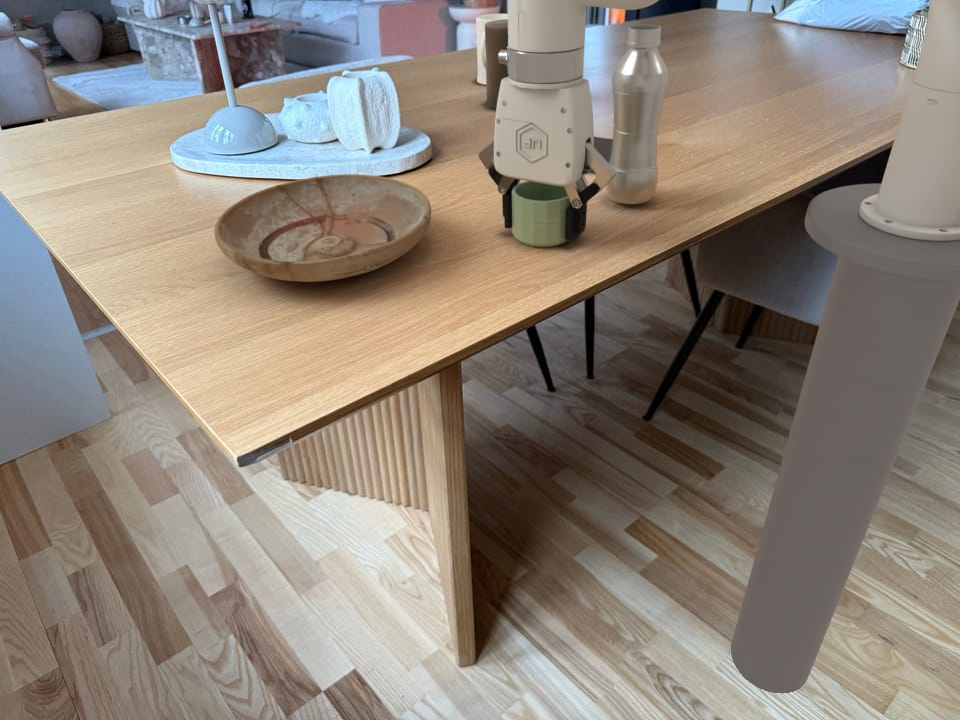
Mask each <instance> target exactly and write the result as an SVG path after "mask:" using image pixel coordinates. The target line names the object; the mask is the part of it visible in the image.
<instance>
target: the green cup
mask: <svg viewBox="0 0 960 720" xmlns="http://www.w3.org/2000/svg"><path fill="white" fill-rule="evenodd" d="M570 205H571V202H570V200H569V198H568V195H567V193H566V191H565V188H564V187H563V186H555V185H548V184H543V183H537V182H531V181H526V180H524V181H522V182H519V184H517V185H516V186H514V187H513V190H512V228H511V233H512V235H513V236H514V238H515V239H516V240H518V241H519V242H520V243H522V244H524V245H526V246H529V247H536V248H550V247H551V248H552V247H556V246H560V245H562V244H564V243H566V242H568V241H567V240H566V239H565V228H566V209H567V207H568V206H570Z"/></svg>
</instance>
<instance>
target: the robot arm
mask: <svg viewBox="0 0 960 720" xmlns="http://www.w3.org/2000/svg"><path fill="white" fill-rule="evenodd" d="M659 1H660V0H507V14H508V46H507V50H500V52H499V54H498V60H499V63H501V64H505V65H507V73H509V77H506V78H503V79H502V80H501V84H500V89H499V95H498V101H497V108H496V109H495V118H494V130H493V131H494V134H493V140H492V141H491V142H490V143H489V144H488V145H487V146H485V147H484V148H483V149H482V150H480V151H479V152H478V159H479V160H480V162H481V163H482V165H483V166H484V167H485V169H486V170H487V171H488V172H487V173H488V175H489V177H490V179H492V181H493V182H494V183H495V185H496V186H497V192H498V193H499V194H500V195H501V196H502V217H503V218H504V219H503V221H504V228H505V229H508V230H509V229H512V190H513V187H514V186H516V185H517V184H519V183H521V182H520V181H521V180H522V181H531V182H537V183H543V184H548V185H555V186H563V187H564V188H565V191H566V193H567V195H568V198H569V200H570V202H571V205H570V206H568V207H567V209H566V228H565V239H566V240H567V241H566V242H570V243H572V242H573V241H574V240H576V239H577V238H578V237H579V236H580V235H582V234H583V233H584V232H585V230H586V227H587V211H588V202H589V201H590V200H591V199H593V198H594V197H595V196H596V195H597V194H599V193H600V192H601V191H602V190H603V189H604V188H606V185H607V184H608V183H609V182H610V181H611V180H612V179H613V178H614V177H615V176H616V171H615V170H614V168H613V167H612V166H611V165H610V164H609V163H608V162H607V161H606V160H605V159H604V158H603V156H602V155H601V154H600V153H599V152H598V151H597V150H596V149H595V148H594V137H595V132H594V130H595V129H594V127H595V126H594V112H593V110H594V109H593V100H592V93H591V88H590V83H589V80H588V79H587V78H584V66H585V65H584V64H585V42H586V21H587V7H594V8H606V9H615V10H624V11H633V10H634V11H635V10H640V9H641V10H642V9H644V8H647V7H650V6H652V5H654V4H656V3H657V2H659ZM925 27H926V28H925V31H924V32H925V33H924V36H923V40H922V45H921V49H920V53H919V57H918V60H917V63H916V67H915V70H914V73H913V77H912V79H911V82H910V86H909V90H908V92H907V96H906V98H905V99H906V100H905V103H904V106H903V109H902V113H901V116H900V120H899V123H898V126H897V130H896V133H895V137H894V140H893V143H892V147H891V150H890V154H889V157H888V160H887V163H886V167H885V170H884V173H883V177H882V181H881V183H880V184H881V187H880V190H879V194H876V195H873V196H870V197H868V198H866V199H864V200H863V201H862V202H861V206H860V209H859V215H860V216H861V218H862V219H863V220H864V221H865V222H866V223H868V224H869V225H871V226H872V227H875V228H877V229H879V230H881V231H884V232H887V233H890V234H893V235H897V236H901V237H905V238H910V239H917V240H925V241H956V240H960V0H929V5H928V15H927V20H926V26H925ZM591 169H592V170H593V171H594V172H593V173H594V174H595V178H594V180H593V181H592V182H591V183H588V181H587V178H586V177H585V175H588V174H589V173H591V172H590V171H591Z"/></svg>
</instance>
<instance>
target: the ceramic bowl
mask: <svg viewBox="0 0 960 720" xmlns="http://www.w3.org/2000/svg"><path fill="white" fill-rule="evenodd" d="M431 220H432V205H431V203H430V200H429V198H428V197H427V196H426V194H425V193H424V192H422V190H420V189H418V188H417V187H415V186H413V185H412V184H409V183H405V182H404V181H401V180H399V179H394V178H390V177H385V176H379V175H372V174H361V173H359V174H358V173H346V174H343V173H342V174H341V173H340V174H328V175H321V176H314V177H308V178H301V179H297V180H292V181H288V182H284V183H280V184H277V185H273V186H270V187H266V188H264V189H261V190H259V191H256V192H254V193H251V194H249V195H247V196H246V197H244V198H242V199H240V200H238V201H237V202H236V203H234V204H232V205H231V206H229V207H228V208H227V209H226V210H224V212H223V213H222V214H221V215H220V216H219V217H218V219H217V221H216V223H215V225H214V229H213V230H214V231H213V233H214V239H215V242H216V245H217V247H218V248H219V250H220V251H221V252H222V253H223V255H225V257H227V258H228V259H229V260H230V261H231V262H232V263H234V264H235V265H237V266H239V267H240V268H242V269H245V270H247V271H250V272H252V273H254V274H258V275H260V276H263V277H267V278H272V279H276V280H281V281H289V282H301V283H304V282H305V283H314V282H328V281H335V280H336V281H337V280H341V279H346V278H350V277H356V276H358V275H362V274H366V273H370V272H373V271H375V270H378V269H380V268H382V267H384V266H386V265H389V264H390V263H392V262H394V261H395V260H398V259H399V258H401V257H402V256H404V255H405V254H407V253H408V252H409V251H410V250H412V249H413V248H414V247H415V246H416V245H417V244H418V243H419V242H420V241H421V240H422V238H423V237H424V236H425V234H426V233H427V231H428V228H429V226H430V223H431Z"/></svg>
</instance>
